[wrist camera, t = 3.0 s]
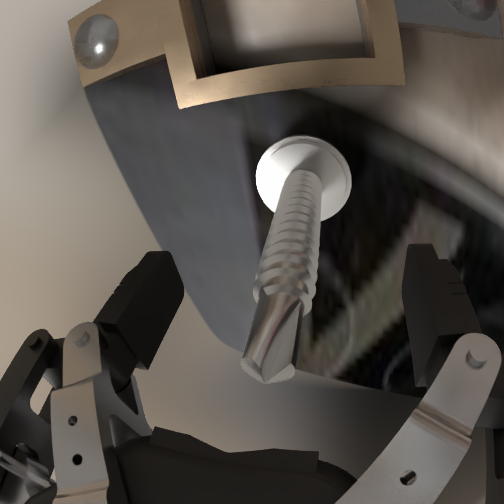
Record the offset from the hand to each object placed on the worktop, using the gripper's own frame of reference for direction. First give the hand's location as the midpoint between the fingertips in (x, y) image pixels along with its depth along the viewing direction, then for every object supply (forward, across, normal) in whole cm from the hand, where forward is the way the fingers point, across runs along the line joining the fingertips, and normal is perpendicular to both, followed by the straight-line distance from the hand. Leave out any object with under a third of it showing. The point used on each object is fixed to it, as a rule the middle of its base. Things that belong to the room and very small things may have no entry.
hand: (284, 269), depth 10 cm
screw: (+9, 0, 0) cm, 9 cm away
